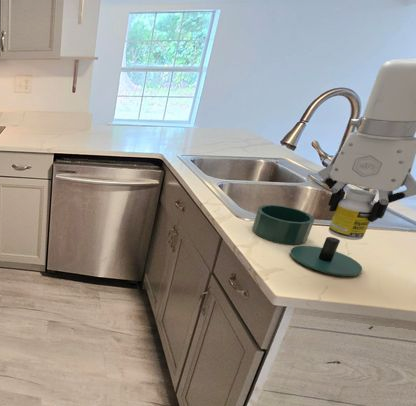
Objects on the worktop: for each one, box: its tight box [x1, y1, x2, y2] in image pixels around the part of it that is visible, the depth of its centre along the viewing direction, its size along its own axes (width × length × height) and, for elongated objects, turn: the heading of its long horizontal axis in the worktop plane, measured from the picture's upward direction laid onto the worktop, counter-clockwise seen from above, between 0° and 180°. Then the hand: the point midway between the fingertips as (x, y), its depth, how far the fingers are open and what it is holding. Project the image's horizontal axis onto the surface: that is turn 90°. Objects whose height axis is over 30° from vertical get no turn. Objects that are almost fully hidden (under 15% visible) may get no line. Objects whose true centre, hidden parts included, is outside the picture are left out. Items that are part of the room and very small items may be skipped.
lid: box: [290, 236, 363, 277], centre depth 88 cm, size 13×13×7 cm
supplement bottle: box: [328, 188, 376, 241], centre depth 76 cm, size 5×5×10 cm
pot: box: [251, 204, 315, 246], centre depth 101 cm, size 12×12×6 cm
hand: (353, 214), depth 76 cm, fingers closed on supplement bottle, 5 cm apart
